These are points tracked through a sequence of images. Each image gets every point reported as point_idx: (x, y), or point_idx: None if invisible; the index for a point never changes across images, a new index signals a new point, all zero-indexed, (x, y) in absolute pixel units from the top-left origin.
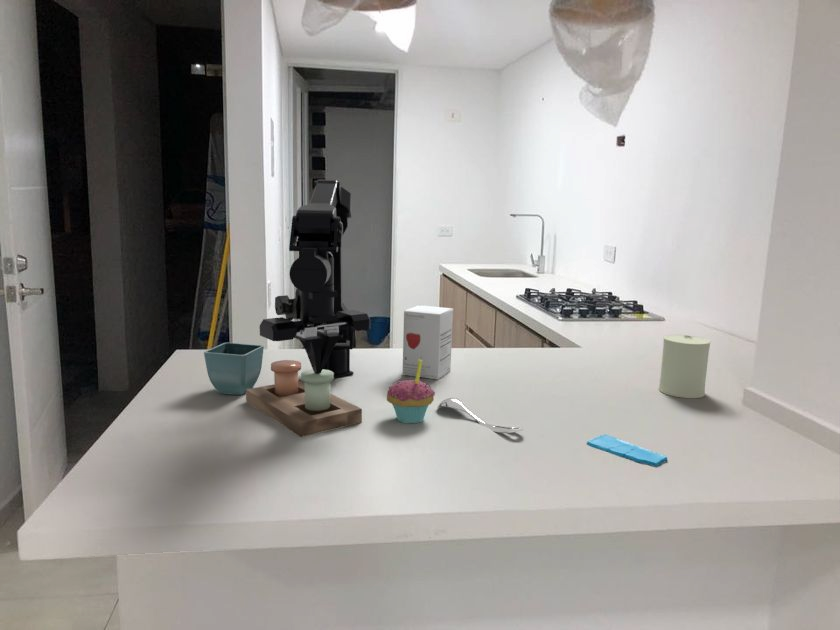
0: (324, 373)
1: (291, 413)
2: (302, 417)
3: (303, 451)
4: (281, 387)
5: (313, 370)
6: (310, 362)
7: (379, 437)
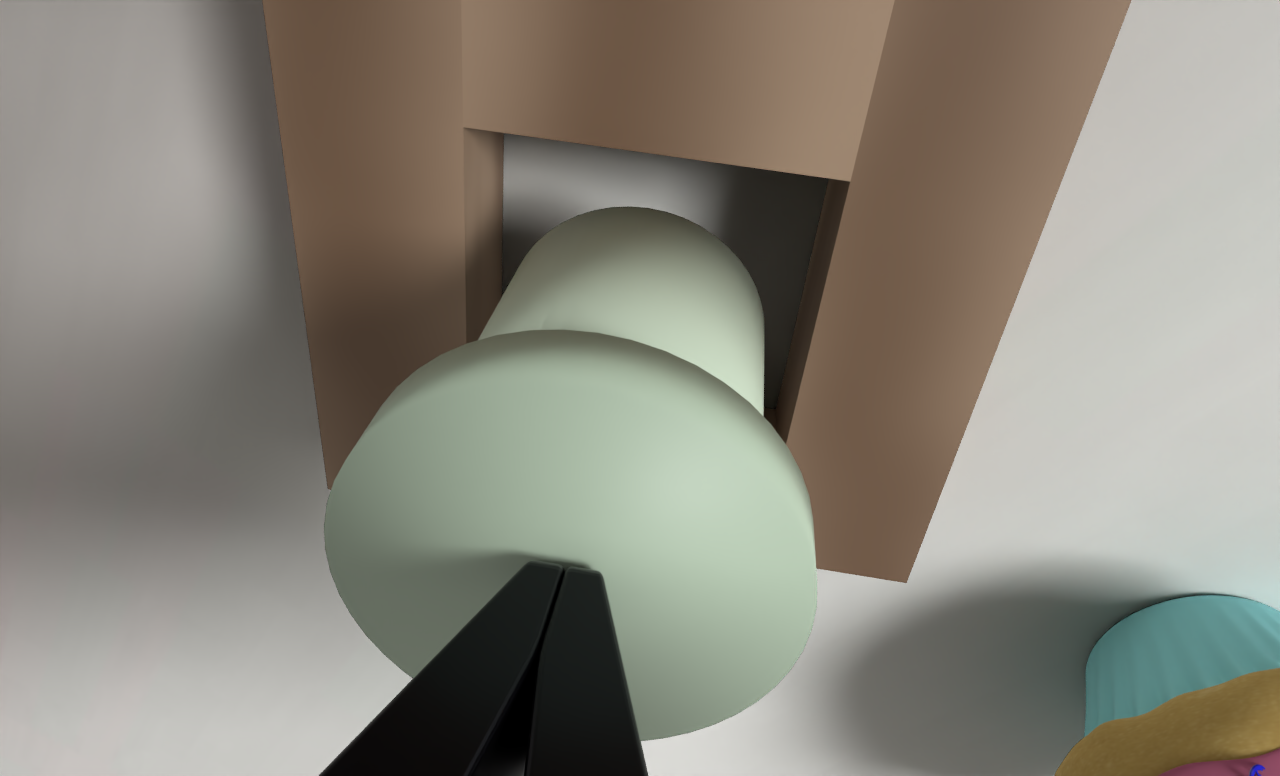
0: (650, 640)
1: (345, 291)
2: None
3: (303, 568)
4: None
5: (510, 586)
6: (426, 673)
7: (767, 697)
